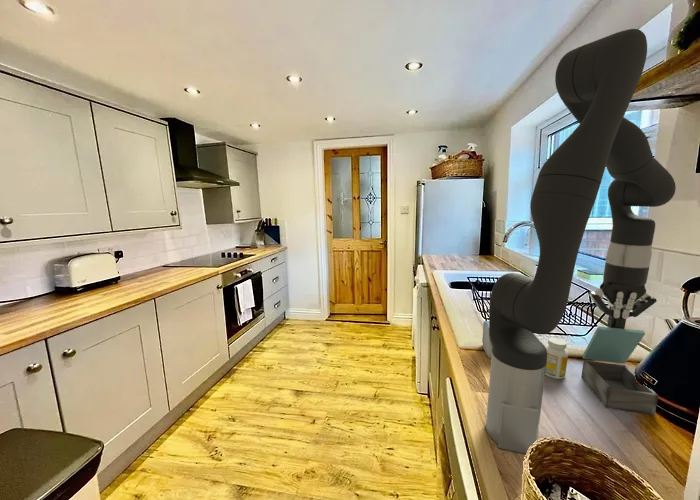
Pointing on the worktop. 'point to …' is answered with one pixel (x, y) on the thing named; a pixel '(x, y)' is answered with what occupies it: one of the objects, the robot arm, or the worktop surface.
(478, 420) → the worktop surface
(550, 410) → the worktop surface
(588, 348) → the lid
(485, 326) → the medicine box
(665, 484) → the worktop surface
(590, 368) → the storage box
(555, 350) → the supplement bottle
